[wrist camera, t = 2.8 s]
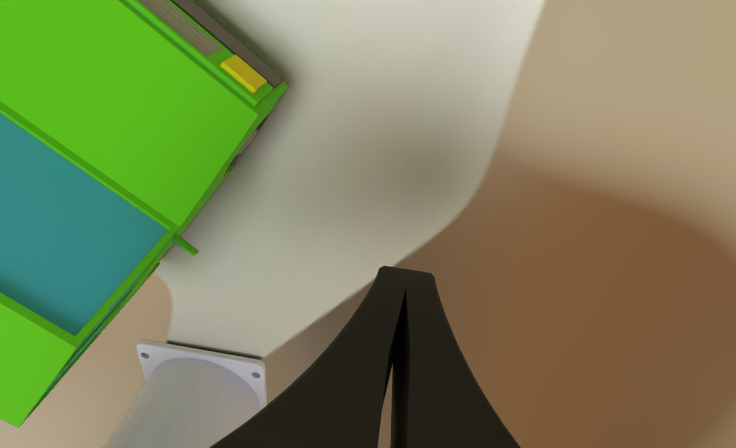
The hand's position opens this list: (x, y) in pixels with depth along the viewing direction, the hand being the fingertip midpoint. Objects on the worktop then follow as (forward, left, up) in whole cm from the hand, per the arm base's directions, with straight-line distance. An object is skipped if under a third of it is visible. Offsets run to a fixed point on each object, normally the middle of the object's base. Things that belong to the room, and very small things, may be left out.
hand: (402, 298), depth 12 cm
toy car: (0, +12, -9) cm, 15 cm away
